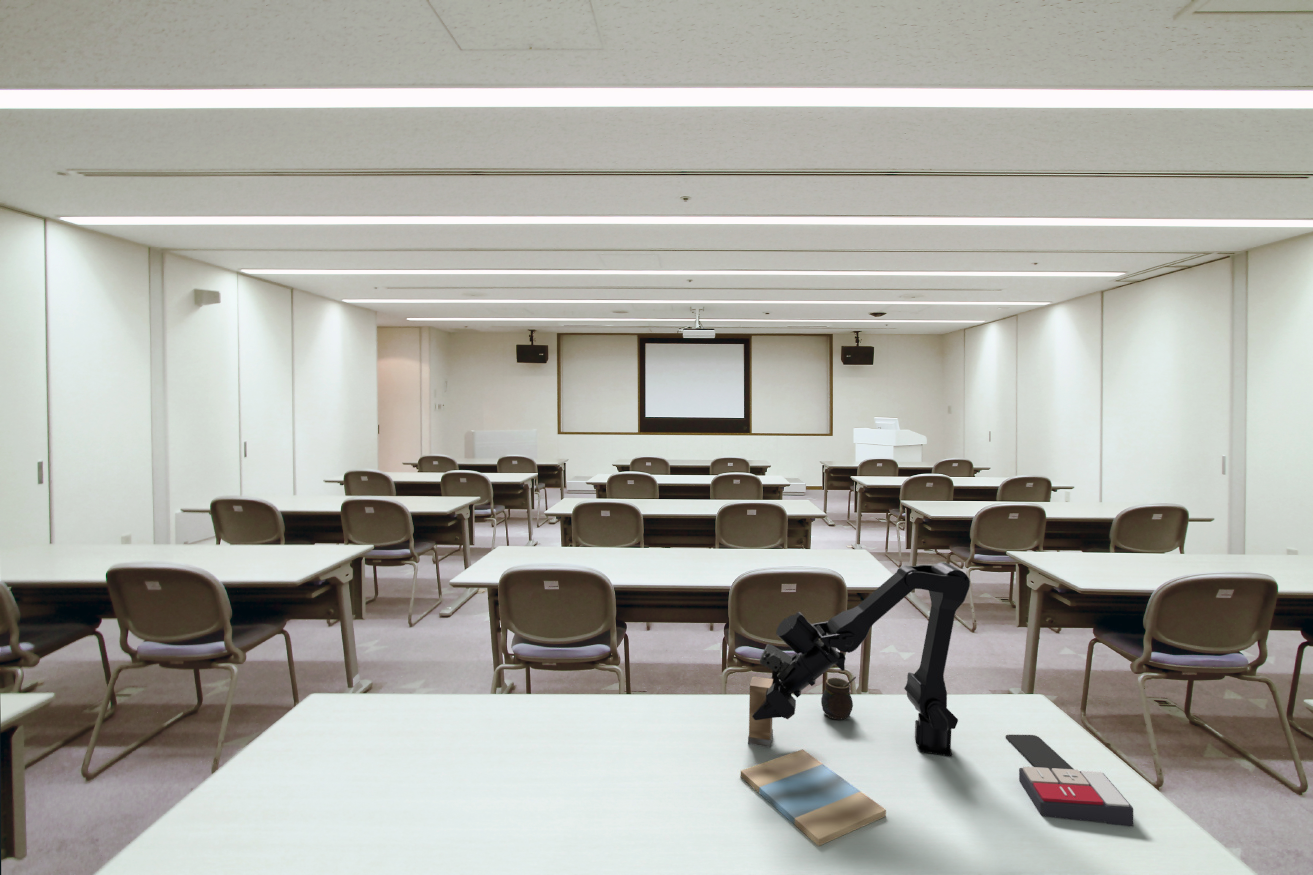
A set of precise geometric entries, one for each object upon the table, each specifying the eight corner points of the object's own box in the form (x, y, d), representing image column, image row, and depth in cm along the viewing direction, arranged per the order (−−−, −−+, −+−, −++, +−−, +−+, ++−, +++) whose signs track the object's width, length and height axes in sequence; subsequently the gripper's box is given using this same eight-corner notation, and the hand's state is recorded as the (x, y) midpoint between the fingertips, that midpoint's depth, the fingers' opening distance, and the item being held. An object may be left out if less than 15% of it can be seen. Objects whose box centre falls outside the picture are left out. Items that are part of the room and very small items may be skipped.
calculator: (1018, 763, 126) (1103, 768, 123) (1018, 784, 126) (1103, 789, 123) (1041, 798, 115) (1134, 804, 112) (1041, 821, 115) (1134, 828, 112)
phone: (1036, 734, 142) (1080, 774, 127) (1036, 738, 142) (1080, 778, 127) (1003, 734, 142) (1043, 774, 127) (1003, 737, 142) (1042, 778, 127)
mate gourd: (818, 706, 155) (820, 666, 154) (850, 709, 154) (852, 668, 153) (822, 721, 148) (824, 679, 147) (856, 724, 146) (858, 682, 146)
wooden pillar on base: (772, 735, 141) (773, 678, 140) (770, 747, 137) (771, 688, 136) (751, 732, 143) (752, 675, 142) (748, 743, 138) (748, 685, 137)
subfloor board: (740, 776, 126) (740, 770, 126) (802, 754, 134) (802, 749, 134) (818, 845, 107) (818, 839, 107) (885, 815, 115) (886, 809, 115)
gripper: (786, 620, 146) (737, 661, 150) (778, 652, 128) (723, 698, 132) (821, 658, 144) (771, 699, 148) (818, 696, 126) (760, 741, 130)
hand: (756, 707), depth 139 cm, fingers open, 9 cm apart
